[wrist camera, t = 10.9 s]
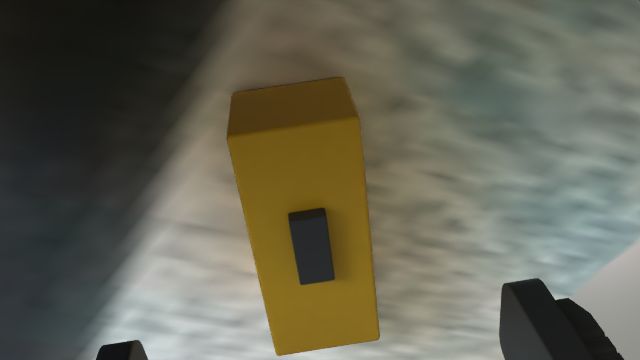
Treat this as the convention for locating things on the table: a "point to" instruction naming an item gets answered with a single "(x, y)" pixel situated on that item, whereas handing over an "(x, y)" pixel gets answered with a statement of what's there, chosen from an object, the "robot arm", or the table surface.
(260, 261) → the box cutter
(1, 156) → the table surface
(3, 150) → the table surface
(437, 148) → the table surface
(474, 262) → the table surface
